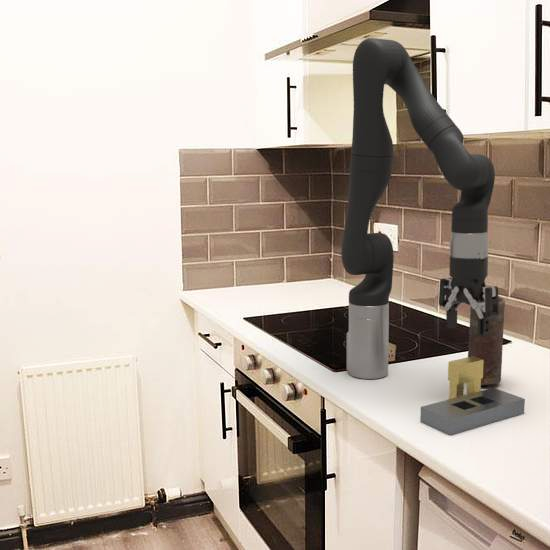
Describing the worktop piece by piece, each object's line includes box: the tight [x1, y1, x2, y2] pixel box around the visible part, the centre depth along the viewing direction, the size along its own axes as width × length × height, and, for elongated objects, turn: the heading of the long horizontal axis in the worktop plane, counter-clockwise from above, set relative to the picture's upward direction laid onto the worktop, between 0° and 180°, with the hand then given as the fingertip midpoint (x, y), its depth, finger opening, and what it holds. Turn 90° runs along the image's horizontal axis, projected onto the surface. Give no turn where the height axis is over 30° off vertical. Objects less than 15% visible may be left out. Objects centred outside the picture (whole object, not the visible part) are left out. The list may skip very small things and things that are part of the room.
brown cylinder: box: [467, 295, 506, 387], centre depth 155 cm, size 8×7×20 cm
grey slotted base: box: [420, 387, 526, 436], centre depth 137 cm, size 8×20×3 cm, turn 121°
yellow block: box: [447, 356, 483, 400], centre depth 146 cm, size 3×7×8 cm, turn 121°
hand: (467, 331), depth 144 cm, fingers open, 8 cm apart
